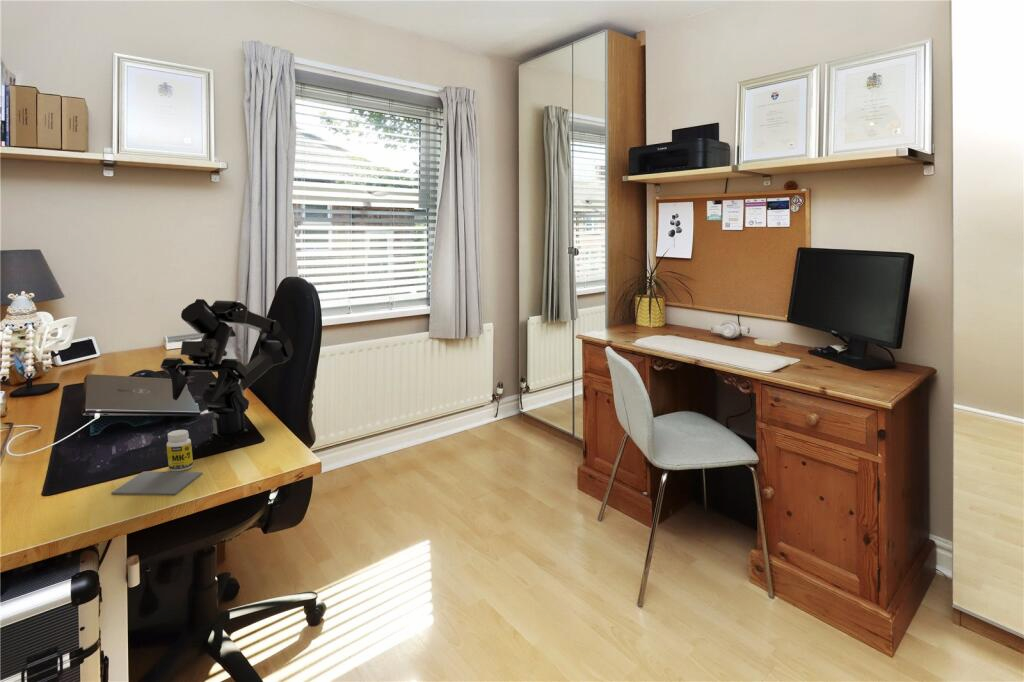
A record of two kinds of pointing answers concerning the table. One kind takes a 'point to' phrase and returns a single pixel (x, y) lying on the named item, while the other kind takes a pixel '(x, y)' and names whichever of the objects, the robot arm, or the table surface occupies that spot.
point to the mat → (157, 483)
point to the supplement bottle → (179, 450)
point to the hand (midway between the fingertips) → (193, 399)
